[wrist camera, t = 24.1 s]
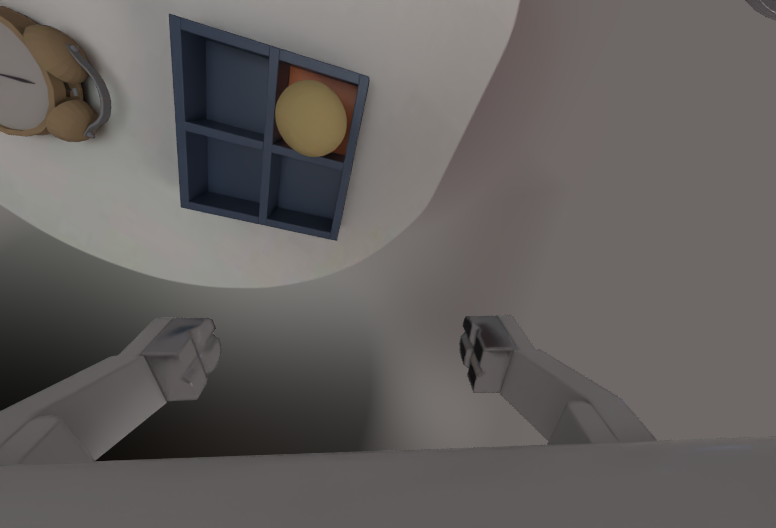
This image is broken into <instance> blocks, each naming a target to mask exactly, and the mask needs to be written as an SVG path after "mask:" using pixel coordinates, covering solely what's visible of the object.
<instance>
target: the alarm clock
mask: <svg viewBox="0 0 776 528" xmlns="http://www.w3.org/2000/svg"><path fill="white" fill-rule="evenodd" d="M89 75H90V77H91V78H92V80H93V81H94V83H95V85H96V88H97V90H98V93H99V97H100V102H101V110H100V115H99V117H98V115H97V113H96V112H95V110H94V109H93V108H92V107H91V106H90V105H89V104H88V103H86V102H84V101H83V90H82V87H81V84H80V83H81V82H83V81H84V80H85V79H86V78H87V77H88V76H89ZM110 114H111V99H110V95H109V92H108V89H107V87H106V84H105V82H104V81H103V79H102V78H101V76H100V75H99V74H98V73H97V71H96V70H95V69H94V68H93V67H92V66H91V65H90V64H89V62H88V60H87V58H86V55H85V54H84V52H83V51H82V49H81V48H80V47H79V46H78V45H77V44H76V42H74V41H73V40H72V39H71V38H70V37H68V36H67V35H66V34H64V33H62V32H61V31H59V30H57V29H55V28H52V27H50V26H46V25H38V24H36V23H35V22H34V21H32V20H31V19H30V18H28V17H27V16H24V15H22V14H20V13H18V12H16V11H13V10H11V9H9V8H7V7H2V6H0V131H1V132H3V133H6V134H8V135H17V136H32V135H45V134H52V135H53V136H55V137H57V138H60V139H62V140H65V141H69V142H80V141H84V140H87V139H89V138H95V135H94V134H95V133H96V132H97V130H98V128H99V126H101V125H103V124H105V123H106V122H107V121H108V119H109V117H110Z"/></svg>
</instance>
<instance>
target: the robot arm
mask: <svg viewBox="0 0 776 528" xmlns="http://www.w3.org/2000/svg"><path fill="white" fill-rule="evenodd" d="M463 327H464V330H465V332H464V333H463V334H462V335H461V338H460V355H461V359H462V362H463V364H464V365H465V366H466V367H467V368H468V373H467V376H468V379H469V382H470V385H471V387H472V390H473V392H474V393H500V395H501V396H502V397H504V399H505V400H507V401H508V402H509V403H510V404H511V405H512V406H513V407H514V408H515V409H516V410H517V411H518V412H519V413H520V414H521V415H522V416H523V417H524V418H525V419H526V420H527V421H528V422H529V423H530V424H531V425H532V426H533V427H534V428H535V429H536V430H537V431H538V432H539V433H541V435H542V436H544V437H545V438H546V439H547V440H548V441H549V442H548V444H547V445H532V446H531V445H529V446H501V447H473V448H449V449H423V450H422V449H421V450H395V451H371V452H370V451H369V452H342V453H317V454H316V453H315V454H287V455H261V456H260V455H259V456H232V457H207V458H206V457H205V458H179V459H154V460H153V459H152V460H125V461H97V462H96V461H95V460H96V459H98V458H99V457H100V456H101V455H103V454H104V453H105V452H106V451H108V450H109V449H110V448H111V447H112V446H113V445H115V444H116V443H117V442H119V441H120V440H121V439H122V438H123V437H125V436H126V435H127V434H128V433H130V432H131V431H132V430H133V429H135V428H136V427H137V426H138V425H140V424H141V423H142V422H143V421H144V420H146V419H147V418H148V417H149V416H151V415H152V414H153V413H154V412H156V411H157V410H158V409H159V408H161V407H162V406H163V405H164V404H165V403H166V401H177V400H196V399H198V397H199V395H200V393H201V392H202V390H203V389H204V387H205V385H206V383H207V382H208V379H207V374H208V373H210V372H211V371H213V370H214V369H215V368H216V366H217V364H218V362H219V359H220V355H221V343H220V340H219V338H217V337H216V336H215V335H214V334H212V333H213V332H214V330H215V329H216V328H215V325H214V322H213V320H212V319H210V318H158V319H155V320H153V321H152V322H151V323H150V324H149V325H148V326H147V327H146V328H145V329H144V330H143V331H142V332H141V333H140V335H138V336H137V337H136V338H135V340H133V341H132V342H131V343H130V344H129V345H128V346H127V347H126V348H125V349H124V350H123V351H122V352H121V353H120V354H119V355H118V356H111V357H109V358H107V359H105V360H103V361H101V362H99V363H97V364H95V365H93V366H91V367H89V368H87V369H85V370H83V371H81V372H79V373H77V374H75V375H73V376H71V377H69V378H67V379H65V380H63V381H61V382H59V383H57V384H55V385H53V386H51V387H49V388H47V389H44V390H43V391H40V392H38V393H36V394H34V395H32V396H30V397H28V398H26V399H24V400H22V401H20V402H18V403H16V404H14V405H12V406H10V407H8V408H6V409H4V410H2V411H0V528H776V436H770V437H769V436H768V437H744V438H720V439H719V438H717V439H693V440H665V441H657V440H656V438H655V437H654V436H653V435H652V434H651V433H650V431H649V430H648V429H647V428H646V427H645V425H644V424H643V423H642V422H641V421H640V420H639V418H638V417H637V416H636V415H635V414H634V413H633V411H632V410H631V409H630V408H629V407H628V405H627V404H626V403H625V402H624V401H623V400H622V399H621V398H619V397H618V396H616V395H615V394H613V393H611V392H610V391H608V390H607V389H605V388H603V387H601V386H600V385H598V384H597V383H595V382H593V381H592V380H590V379H588V378H587V377H585V376H583V375H582V374H580V373H578V372H577V371H575V370H574V369H572V368H570V367H568V366H567V365H565V364H564V363H562V362H560V361H559V360H557V359H555V358H554V357H552V356H550V355H548V354H547V353H546V352H544V351H542V350H540V349H535V348H534V346H533V345H532V343H531V342H530V340H529V339H528V337H527V336H526V335H525V333H524V331H523V330H522V329H521V327H520V326H519V324H518V323H517V321H516V320H515V318H514V317H513V316H511V315H496V316H466V317H465V319H464V323H463Z"/></svg>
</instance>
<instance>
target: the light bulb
mask: <svg viewBox="0 0 776 528" xmlns="http://www.w3.org/2000/svg"><path fill="white" fill-rule="evenodd" d="M275 119H276V124H277V127H278V130H279V132H280V134H281V136H282V137H283V139H284V140H285V142H286V143H287V144H288V145H289V146H290V147H291V148H292V149H294V150H295V151H296V152H298V153H300V154H302V155H305V156H309V157H320V156H324V155H326V154H329V153H331V152H332V151H334V150H335V149H336V148H337V147H338V146H339V145H340V143H341V142H342V140H343V138H344V136H345V133H346V128H347V118H346V113H345V109H344V107H343V104H342V102H341V101H340V99H339V97H338V96H337V95H336V94H335V92H334V91H333V90H331V89H330V88H329V87H328V86H326V85H325V84H323V83H320V82H318V81H314V80H302V81H297V82H295V83H293V84H291V85H290V86H288V87H287V88H286V89H285V90H284V91H283V92H282V94H281V95H280V97H279V99H278V101H277V104H276V108H275Z"/></svg>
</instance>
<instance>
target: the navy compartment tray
mask: <svg viewBox="0 0 776 528" xmlns="http://www.w3.org/2000/svg"><path fill="white" fill-rule="evenodd" d="M169 25H170V41H171V57H172V73H173V89H174V105H175V121H176V137H177V153H178V169H179V185H180V201H181V207H182V208H187V209H191V210H196V211H200V212H205V213H210V214H214V215H219V216H224V217H228V218H233V219H238V220H242V221H247V222H252V223H256V224H261V225H266V226H270V227H275V228H280V229H284V230H289V231H294V232H298V233H303V234H308V235H312V236H317V237H321V238H326V239H331V240H336V241H337V237H338V233H339V229H340V225H341V220H342V215H343V210H344V205H345V200H346V195H347V190H348V185H349V180H350V175H351V170H352V165H353V160H354V155H355V150H356V145H357V140H358V135H359V130H360V125H361V120H362V115H363V111H364V106H365V101H366V96H367V91H368V86H369V77H368V76H365V75H362V74H359V73H356V72H352V71H349V70H346V69H343V68H340V67H337V66H333V65H330V64H327V63H324V62H321V61H318V60H314V59H311V58H308V57H305V56H302V55H299V54H295V53H292V52H289V51H286V50H283V49H279V48H276V47H273V46H270V45H267V44H264V43H261V42H257V41H254V40H251V39H248V38H245V37H242V36H238V35H235V34H232V33H229V32H226V31H223V30H219V29H216V28H213V27H210V26H207V25H204V24H200V23H197V22H194V21H191V20H188V19H185V18H181V17H178V16H175V15H172V14H169ZM302 80H314V81H318V82H320V83H323V84H325V85H326V86H328V87H329V88H330V89H331V90H333V91H334V92H335V94H336V95H337V96H338V97H339V99H340V101H341V102H342V104H343V107H344V109H345V113H346V118H347V128H346V133H345V136H344V138H343V140H342V142H341V143H340V145H339V146H338V147H337V148H336V149H335V150H334V151H332V152H331V153H329V154H326V155H324V156H320V157H309V156H305V155H302V154H300V153H298V152H296V151H295V150H294V149H292V148H291V147H290V146H289V145H288V144H287V143H286V142H285V140H284V139H283V137H282V136H281V134H280V132H279V130H278V127H277V124H276V119H275V108H276V104H277V101H278V99H279V97H280V95H281V94H282V92H283V91H284V90H285V89H286V88H287V87H288V86H290V85H291V84H293V83H295V82H297V81H302Z"/></svg>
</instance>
